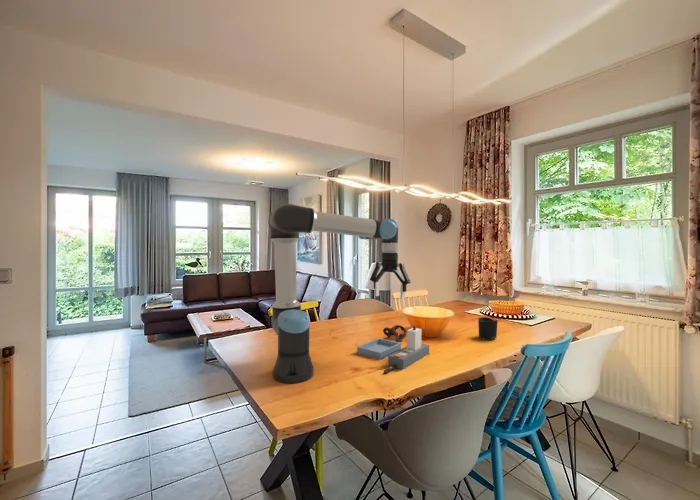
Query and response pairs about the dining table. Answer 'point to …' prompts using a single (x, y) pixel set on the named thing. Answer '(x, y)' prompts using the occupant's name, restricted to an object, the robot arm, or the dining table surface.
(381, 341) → the tray
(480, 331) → the pen holder
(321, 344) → the dining table surface
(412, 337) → the charger
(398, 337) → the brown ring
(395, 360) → the power strip
